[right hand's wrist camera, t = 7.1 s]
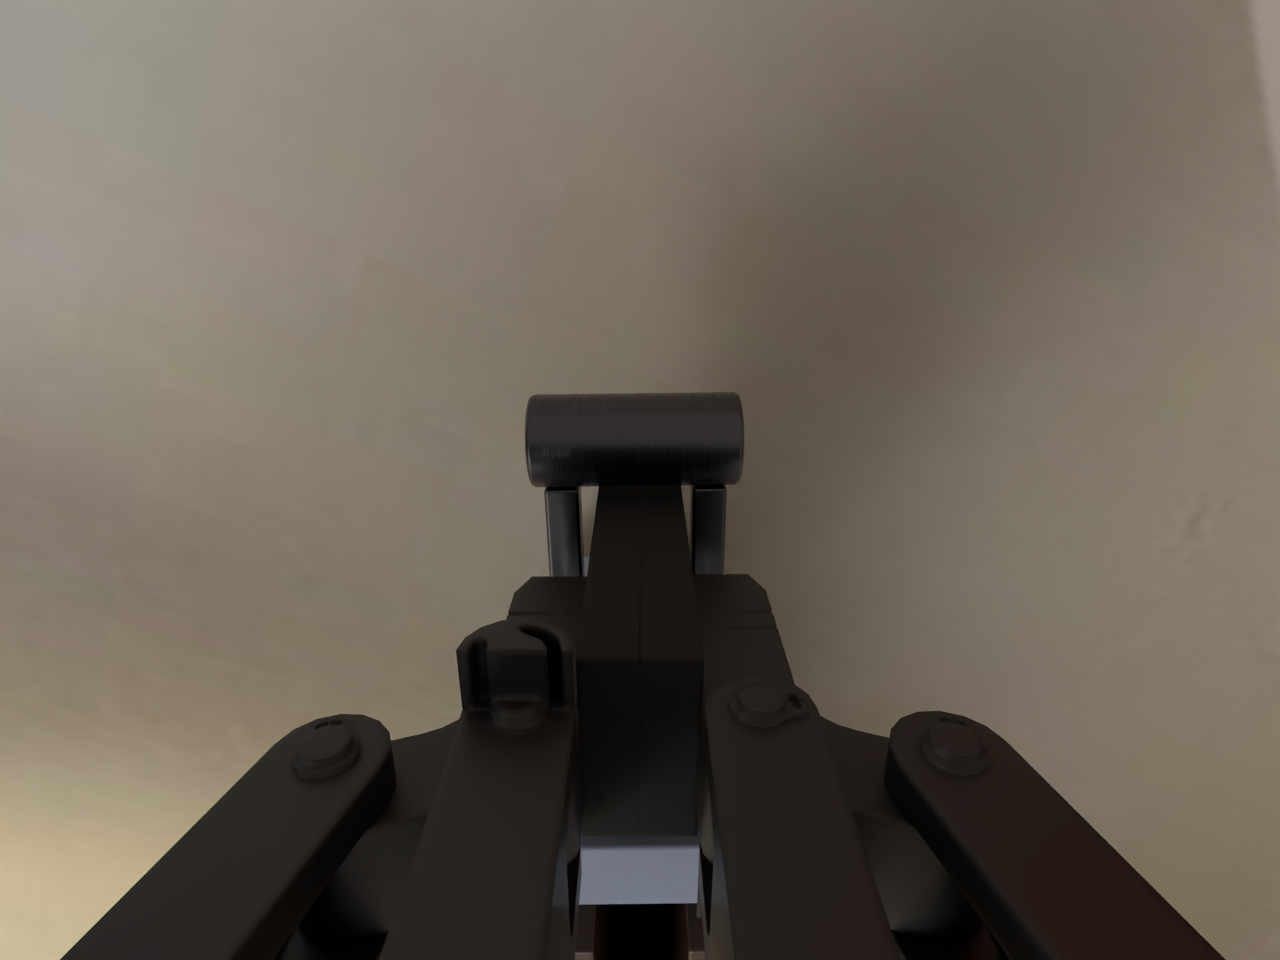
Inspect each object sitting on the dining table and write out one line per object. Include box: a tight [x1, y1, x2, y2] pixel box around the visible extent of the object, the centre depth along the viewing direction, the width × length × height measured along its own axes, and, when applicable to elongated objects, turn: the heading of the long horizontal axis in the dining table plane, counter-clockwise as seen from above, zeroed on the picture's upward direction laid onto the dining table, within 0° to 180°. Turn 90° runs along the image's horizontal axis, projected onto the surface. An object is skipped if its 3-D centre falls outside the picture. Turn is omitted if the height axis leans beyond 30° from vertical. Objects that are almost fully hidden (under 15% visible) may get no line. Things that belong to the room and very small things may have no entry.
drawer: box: [525, 392, 744, 960], centre depth 17 cm, size 24×4×9 cm, turn 1°
